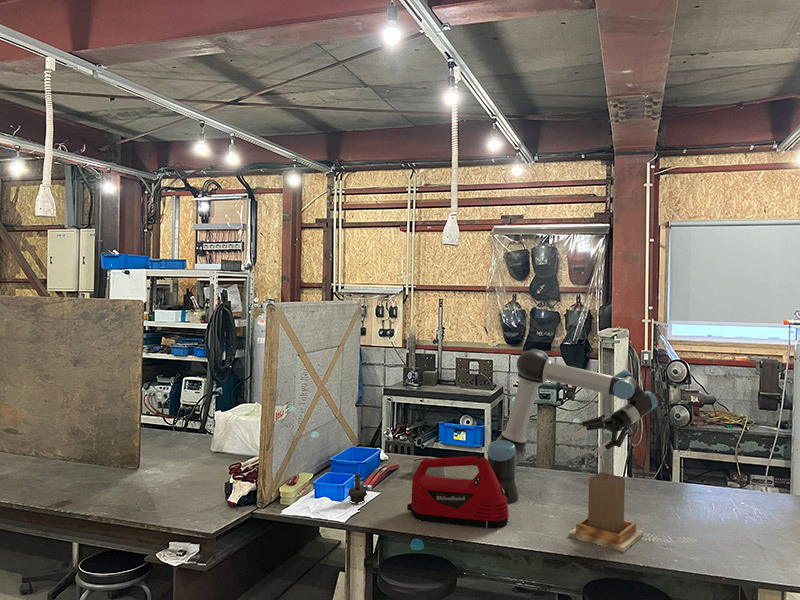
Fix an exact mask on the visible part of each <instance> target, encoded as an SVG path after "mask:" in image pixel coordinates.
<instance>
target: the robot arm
mask: <svg viewBox="0 0 800 600" xmlns="http://www.w3.org/2000/svg"><path fill="white" fill-rule="evenodd" d="M516 369H517V372H518V373H517V378H518V379H519V382H518V386H517V388H516V392H515V396H514V400H513V404H512V408H511V411H510V413H509V418H508V421H507V425H506V427H505V430H503V431H501V434H500V436H499V440H496V441H495V440H493V441H492V442H489V444H488V447H487V460H488V462H489V464H490V466H491V468H492V470H493V472H494V474H495V476H496V478H497V479H498V481H499V483H500V485H501V487H502V488H503V490H504V494H505V496H506V499H507V504H511V503H515V502H517V501H518V500H519V491H518V487H517V484H516V481H515V478H516V477H515V476H516V474H515V473H516V471H515V470H516V466H517V465H518V464H519V463H521V461H522V460H523V459H524V458H525V454H526V445H527V441H528V440H527V438H526V432H527V428H528V425H529V421H530V418H531V414H532V412H533V407H534V404H535V400H536V397H537V393H538V389H539V386H541V385H542V384H544V382H545V381H552V382H555V383H559V384H560V383H561V384H564V385H569V386H572V387H577V388H580V389H581V388H582V389H586V390H590V391H594V392H598V393H601V394H606V395H610V396H614V397H616V398H618V399H619V400H626V401H627V402H628V403H626V404H624V405H623V406H621V407H620V408H619V409H617V410H616V411H615V412H613V413H612V414H611V416H610V417H606V415H605V414H602V415H600V416H598V417H594V418H591V419H587V420H584V421H581V424H582V427H580V428H579V429H577V431H576V432H573V434H572V435H573V439H574V441H577V440H578V439H580V438H581V437H583V436H584V435H585V434H587V433H589V432H588V431H594V430H601V429H602V430H606V431H609V432H610V433H612V434H611V439H608V440H607V441H605V442H603V444H600V445H599V446H598V447H596V450H597V454H598V455H601V454H603V453H604V452H605V451H608V450H610V449H612V448H613V447H616V448H621V446H622V445H623V442H624V441H625V439H626V436H627V435H628V434H629V433H630V431H629V428H630V426H631V425H633V424H634V423H636V422H637V421H639V420H640V419H642V418H643V417H645V416H647V414H649V413H650V412H652V411H653V410H654V409H655V408H657V406H658V405H659V404H658V403H659V402H658V401H659V400H658V398H657V396H656V395H655V394H653V392H652V391H649V390H646V391H644V389H642V387H641V386H640V384H639V382H637V380H636V379H635V377H634V376H633V374H632V373H631V372H630V371H629V370H628V369H623V370H622V371H620V372H618V373H617V374H615V375H608V374H605V373H601V372H597V371H596V372H595V371H592V370H587V369H583V368H578V367H574V366H569V365H565V364H561V363H556V362H553V361H551V360H550V357H549V356H548V354H547V353H546V352H544V351H543V350H540V349H536V348H535V349H534V348H533V349H531V350H528V351H524V352H523V353H522V354H520V355H519V356H518V358H517V361H516ZM619 432H620V433H619ZM618 434H619V435H618Z"/></svg>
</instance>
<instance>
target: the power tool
mask: <svg viewBox="0 0 800 600" xmlns="http://www.w3.org/2000/svg"><path fill="white" fill-rule="evenodd" d="M464 466H475V467H477V468H478V473H477V474H476V475H475V476H474V477H473V478H472V479H470V478H458V477H450V476H429V475H427V474H425V473H426V471H427V469H428V468H433V467H445V468H446V467H447V468H448V467H464ZM411 482H412V484H411V503H407V506H406V509H407V511H409V512H410V513H411V516H412V517H413V516H414V517H415V518H416V519H415V518H414V517H413V518H414V519H415V520H417V519H418V520H417V521H419V520H421V521H420V522H424V521H427V522H426V523H433V524H444V525H452V526H460V527H461V526H462V527H470V528H481V529H491V530H492V529H494V530H495V529H498V528H503V527H505V526H506V525H508V523H509V509H508V508H509V507H508V503H507V499H506V496H505V494H504V490H503V488H502V487H501V485H500V483H499V481H498V479H497V478H496V476H495V474H494V472H493V470H492V468H491V466H490V464H489V462H488V458H486V457H484V456H483V457H482V456H480V455H479V456H473V455H471V456H468V455H467V456H456V457H453V456H452V457H451V456H449V457H435V458H432V459H424V460H423V461H421V463H420V465H419V467H418V468H417V470H416V472H415V474H414V475H412V481H411Z"/></svg>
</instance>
